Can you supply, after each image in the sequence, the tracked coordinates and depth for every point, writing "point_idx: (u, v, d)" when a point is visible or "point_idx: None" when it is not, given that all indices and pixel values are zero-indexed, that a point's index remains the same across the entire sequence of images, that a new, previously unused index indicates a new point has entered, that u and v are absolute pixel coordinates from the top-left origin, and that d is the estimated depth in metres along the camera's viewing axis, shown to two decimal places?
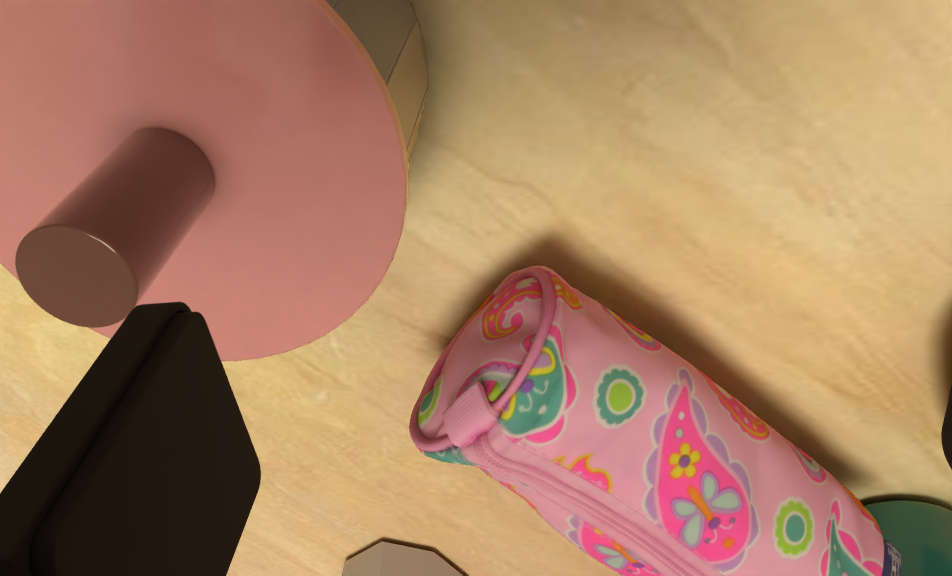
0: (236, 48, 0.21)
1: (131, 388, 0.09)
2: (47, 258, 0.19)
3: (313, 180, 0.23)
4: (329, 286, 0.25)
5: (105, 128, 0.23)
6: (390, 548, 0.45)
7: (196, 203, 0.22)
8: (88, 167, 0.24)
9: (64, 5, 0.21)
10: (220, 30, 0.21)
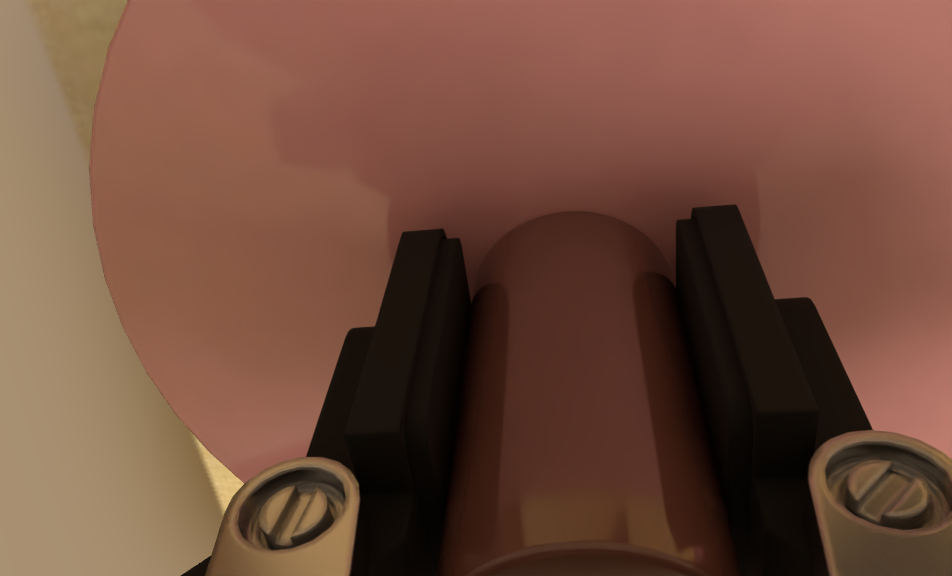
0: None
1: (433, 298, 0.09)
2: None
3: (842, 104, 0.10)
4: None
5: None
6: None
7: (670, 309, 0.10)
8: None
9: (239, 151, 0.11)
10: None
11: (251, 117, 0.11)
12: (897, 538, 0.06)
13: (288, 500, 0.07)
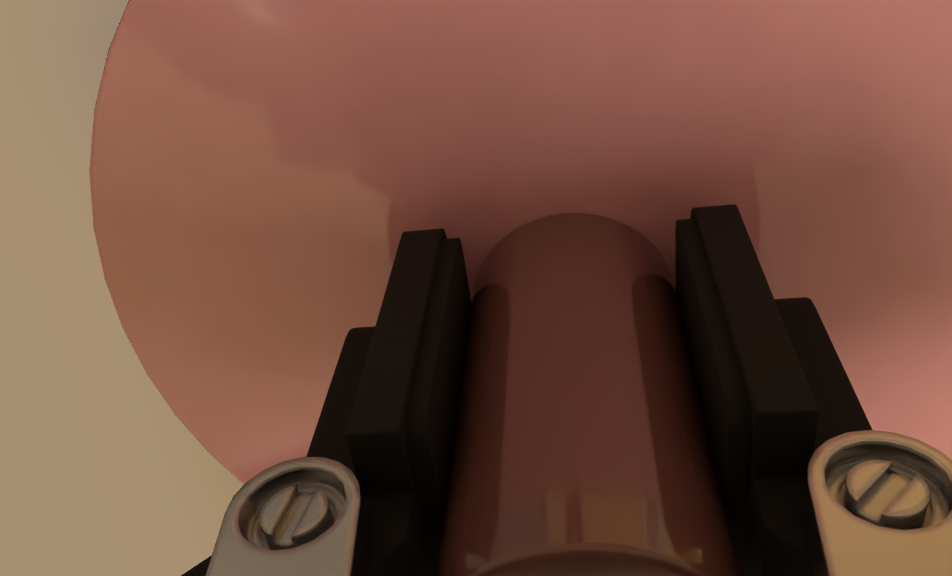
0: None
1: (434, 298, 0.09)
2: None
3: (841, 107, 0.10)
4: None
5: None
6: None
7: (669, 311, 0.10)
8: None
9: (239, 153, 0.11)
10: None
11: (251, 119, 0.11)
12: (894, 539, 0.06)
13: (289, 500, 0.07)
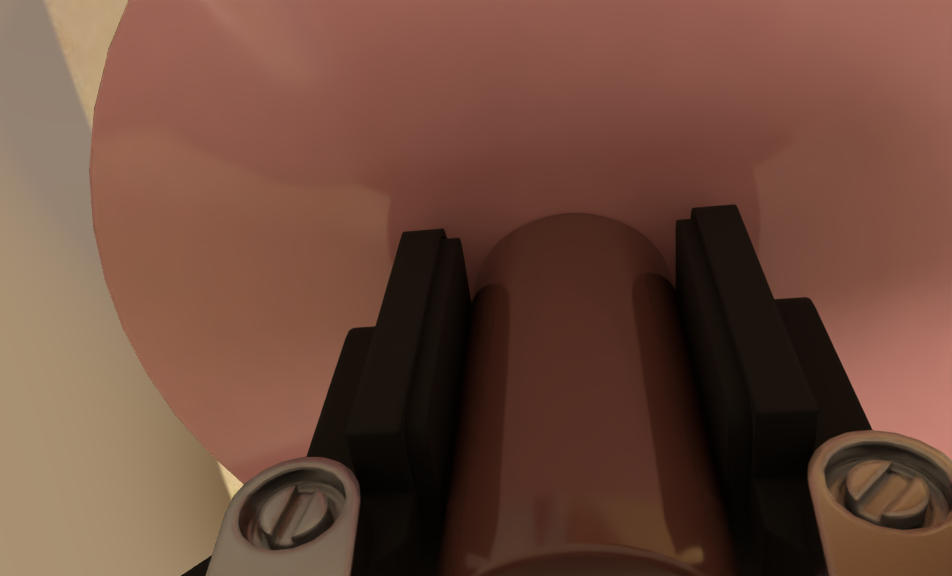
0: None
1: (434, 298, 0.09)
2: None
3: (842, 106, 0.10)
4: None
5: None
6: None
7: (669, 311, 0.10)
8: None
9: (238, 153, 0.11)
10: None
11: (251, 119, 0.11)
12: (895, 539, 0.06)
13: (289, 499, 0.07)
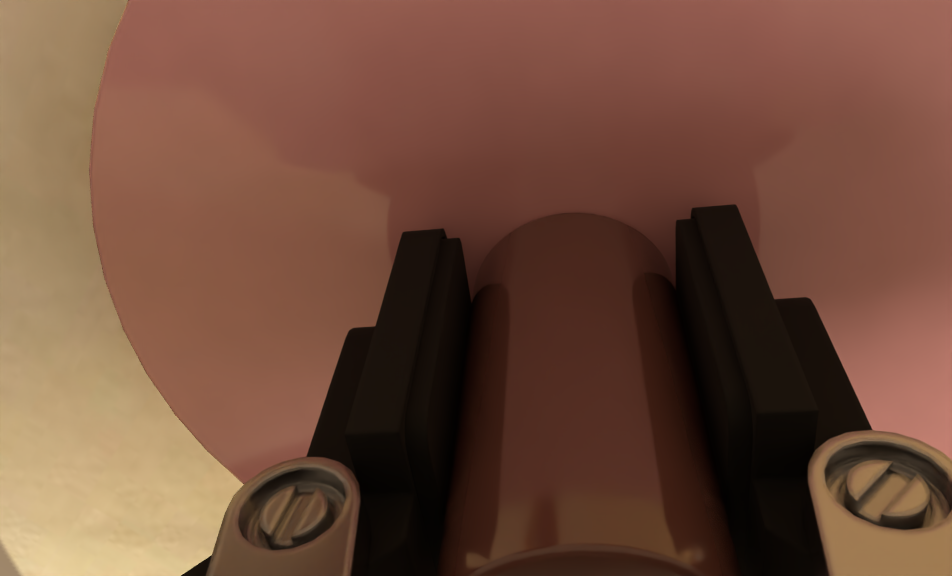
0: None
1: (434, 298, 0.09)
2: None
3: (842, 106, 0.10)
4: None
5: None
6: None
7: (669, 310, 0.10)
8: None
9: (239, 152, 0.11)
10: None
11: (251, 118, 0.11)
12: (895, 539, 0.06)
13: (288, 500, 0.07)
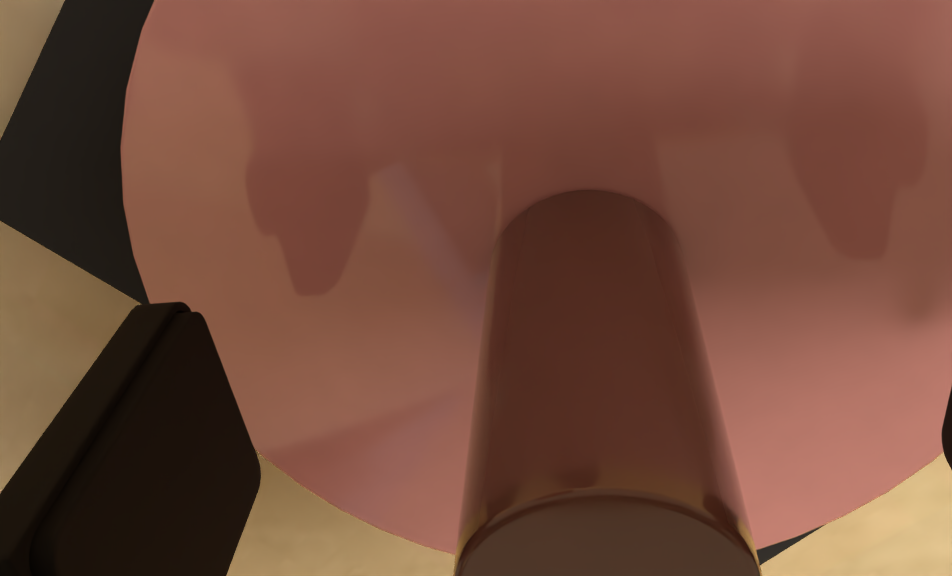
0: None
1: (131, 387, 0.09)
2: None
3: (848, 86, 0.10)
4: None
5: (452, 274, 0.12)
6: None
7: (680, 282, 0.10)
8: (471, 350, 0.13)
9: (265, 131, 0.11)
10: None
11: (277, 98, 0.11)
12: None
13: None
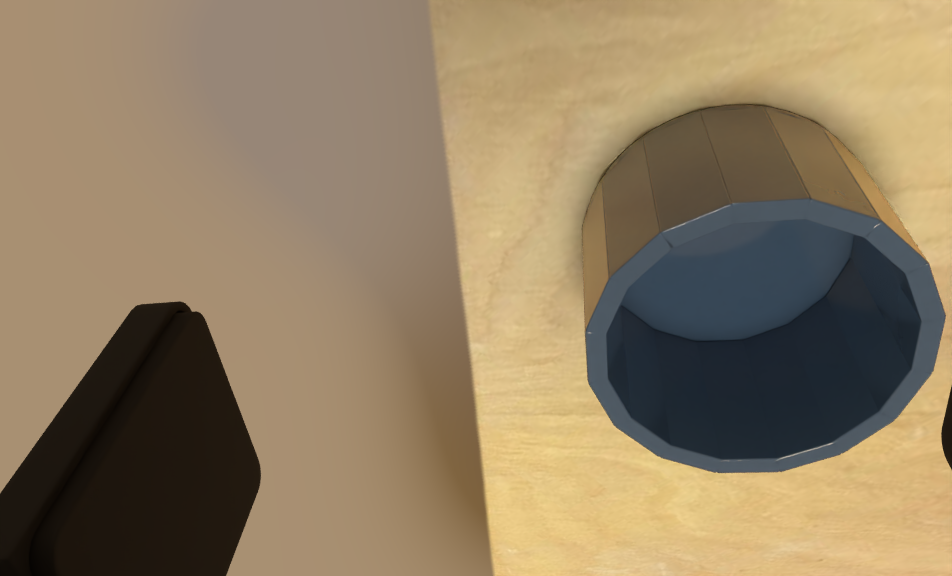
0: None
1: (130, 388, 0.09)
2: None
3: None
4: None
5: None
6: None
7: None
8: None
9: None
10: None
11: None
12: None
13: None
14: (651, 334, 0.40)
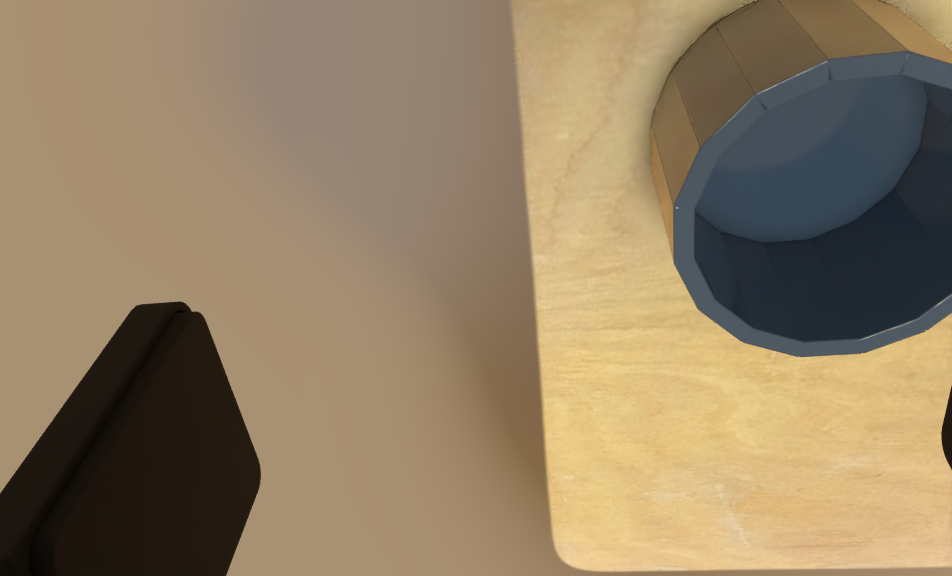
0: None
1: (131, 387, 0.09)
2: None
3: None
4: None
5: None
6: None
7: None
8: None
9: None
10: None
11: None
12: None
13: None
14: (719, 235, 0.40)
